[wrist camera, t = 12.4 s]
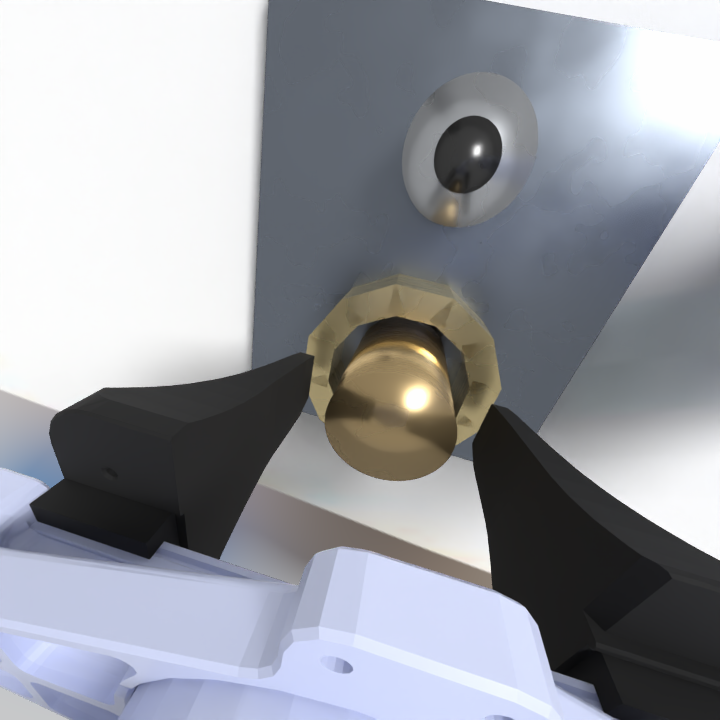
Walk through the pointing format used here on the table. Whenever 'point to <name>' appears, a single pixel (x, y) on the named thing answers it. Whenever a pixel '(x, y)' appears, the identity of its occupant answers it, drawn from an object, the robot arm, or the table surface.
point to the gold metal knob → (394, 403)
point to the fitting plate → (467, 185)
